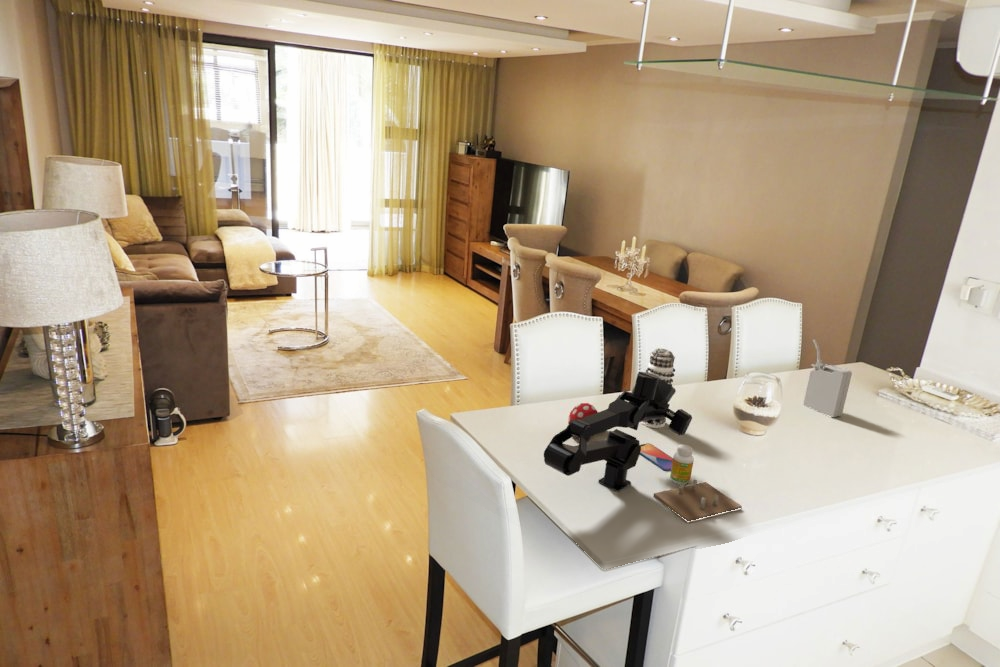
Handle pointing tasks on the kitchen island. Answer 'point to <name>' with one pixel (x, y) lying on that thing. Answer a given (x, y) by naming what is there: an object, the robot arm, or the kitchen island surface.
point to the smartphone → (656, 456)
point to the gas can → (827, 387)
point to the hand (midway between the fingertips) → (674, 407)
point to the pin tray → (696, 501)
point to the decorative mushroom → (581, 411)
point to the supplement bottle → (682, 465)
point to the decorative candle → (661, 374)
